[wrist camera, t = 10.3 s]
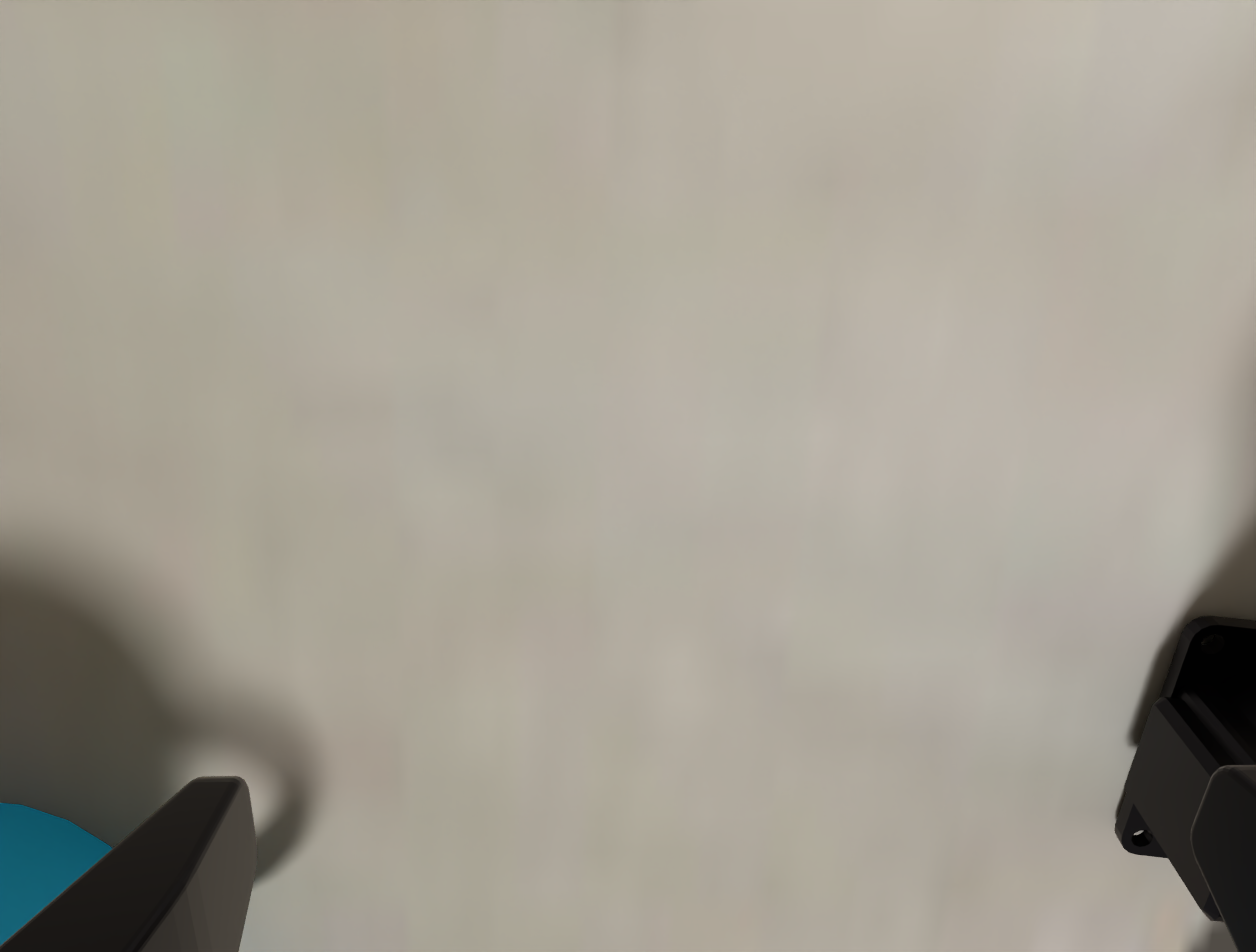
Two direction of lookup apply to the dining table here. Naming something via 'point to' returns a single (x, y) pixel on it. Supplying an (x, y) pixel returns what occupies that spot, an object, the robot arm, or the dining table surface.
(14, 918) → the mug
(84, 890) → the robot arm
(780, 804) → the dining table surface
